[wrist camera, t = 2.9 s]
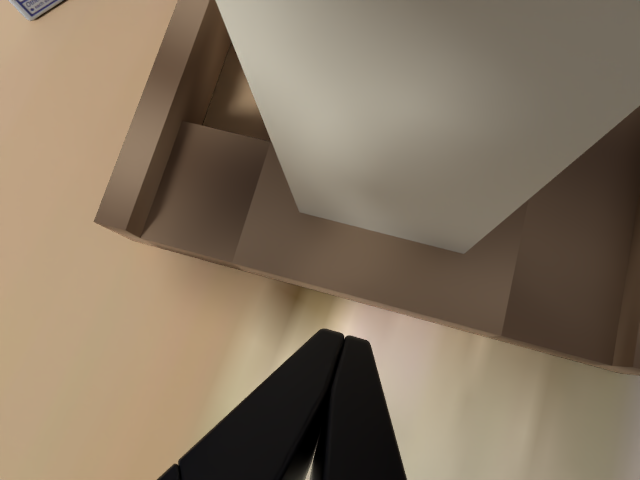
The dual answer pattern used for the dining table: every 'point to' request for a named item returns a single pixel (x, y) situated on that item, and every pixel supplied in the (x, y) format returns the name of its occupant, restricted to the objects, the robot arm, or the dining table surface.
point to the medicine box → (34, 7)
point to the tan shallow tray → (373, 247)
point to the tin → (433, 102)
